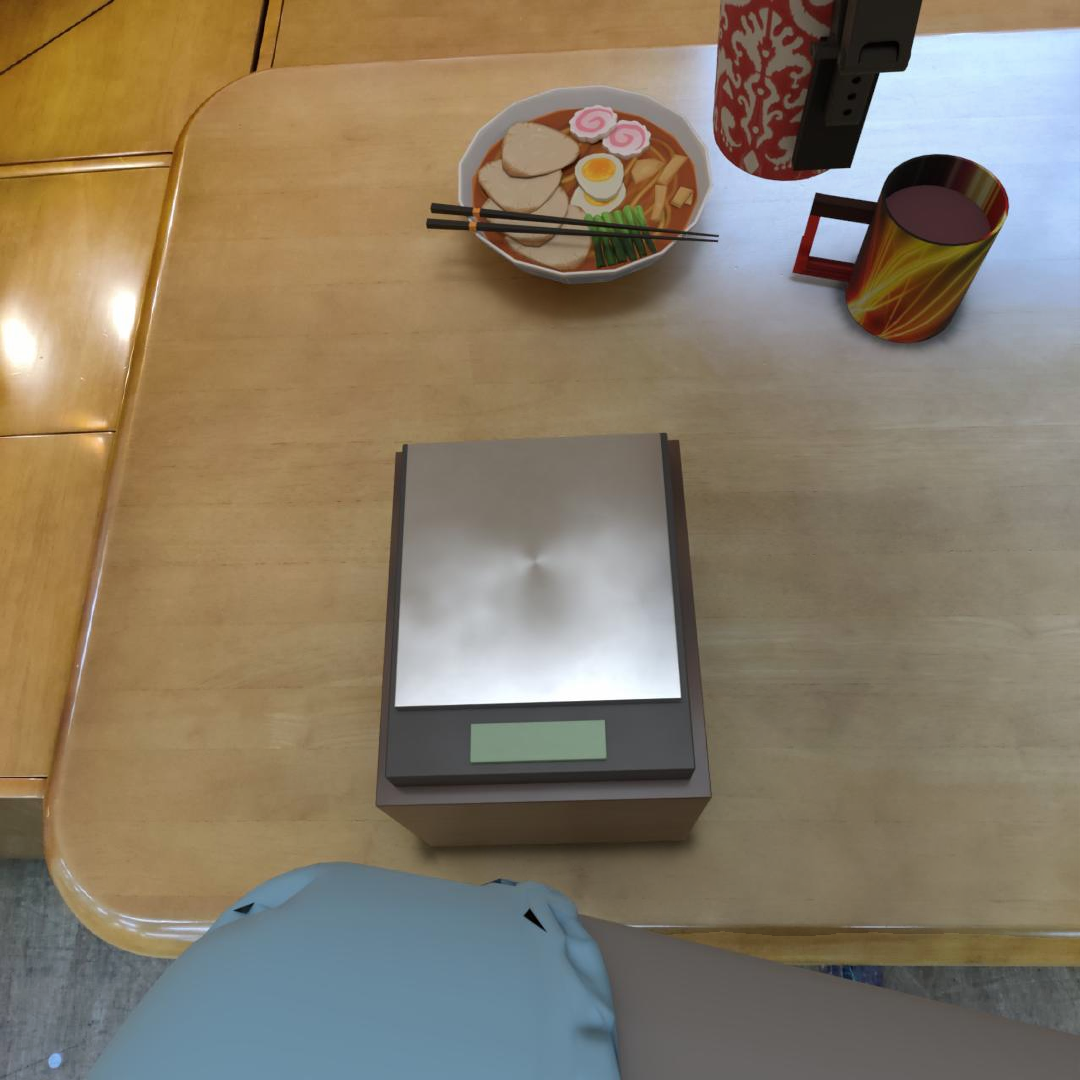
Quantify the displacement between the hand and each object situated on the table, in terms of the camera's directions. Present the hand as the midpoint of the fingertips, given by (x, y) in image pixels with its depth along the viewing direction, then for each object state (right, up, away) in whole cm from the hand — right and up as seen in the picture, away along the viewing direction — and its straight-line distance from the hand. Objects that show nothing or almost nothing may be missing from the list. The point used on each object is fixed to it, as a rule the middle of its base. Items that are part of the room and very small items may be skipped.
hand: (805, 84), depth 47 cm
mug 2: (+17, -2, +37) cm, 41 cm away
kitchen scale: (-14, -27, +7) cm, 31 cm away
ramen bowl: (-9, +6, +42) cm, 44 cm away
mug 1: (0, -1, +2) cm, 2 cm away
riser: (-12, -35, +23) cm, 44 cm away
